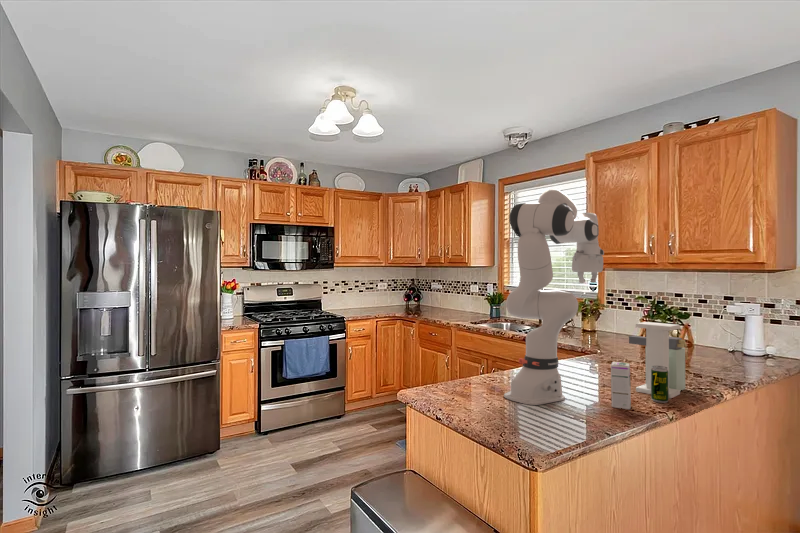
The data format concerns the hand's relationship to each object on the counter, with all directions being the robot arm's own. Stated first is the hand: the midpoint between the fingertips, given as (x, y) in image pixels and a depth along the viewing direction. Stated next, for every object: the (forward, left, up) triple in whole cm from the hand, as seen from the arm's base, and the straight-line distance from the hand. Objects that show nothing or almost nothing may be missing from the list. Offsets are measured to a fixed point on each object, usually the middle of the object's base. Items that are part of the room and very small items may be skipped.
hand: (587, 282), depth 187 cm
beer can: (-12, -33, -41) cm, 54 cm away
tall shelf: (-1, -28, -41) cm, 50 cm away
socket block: (+9, -27, -41) cm, 50 cm away
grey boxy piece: (+9, -24, -25) cm, 36 cm away
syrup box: (-29, -27, -41) cm, 57 cm away
